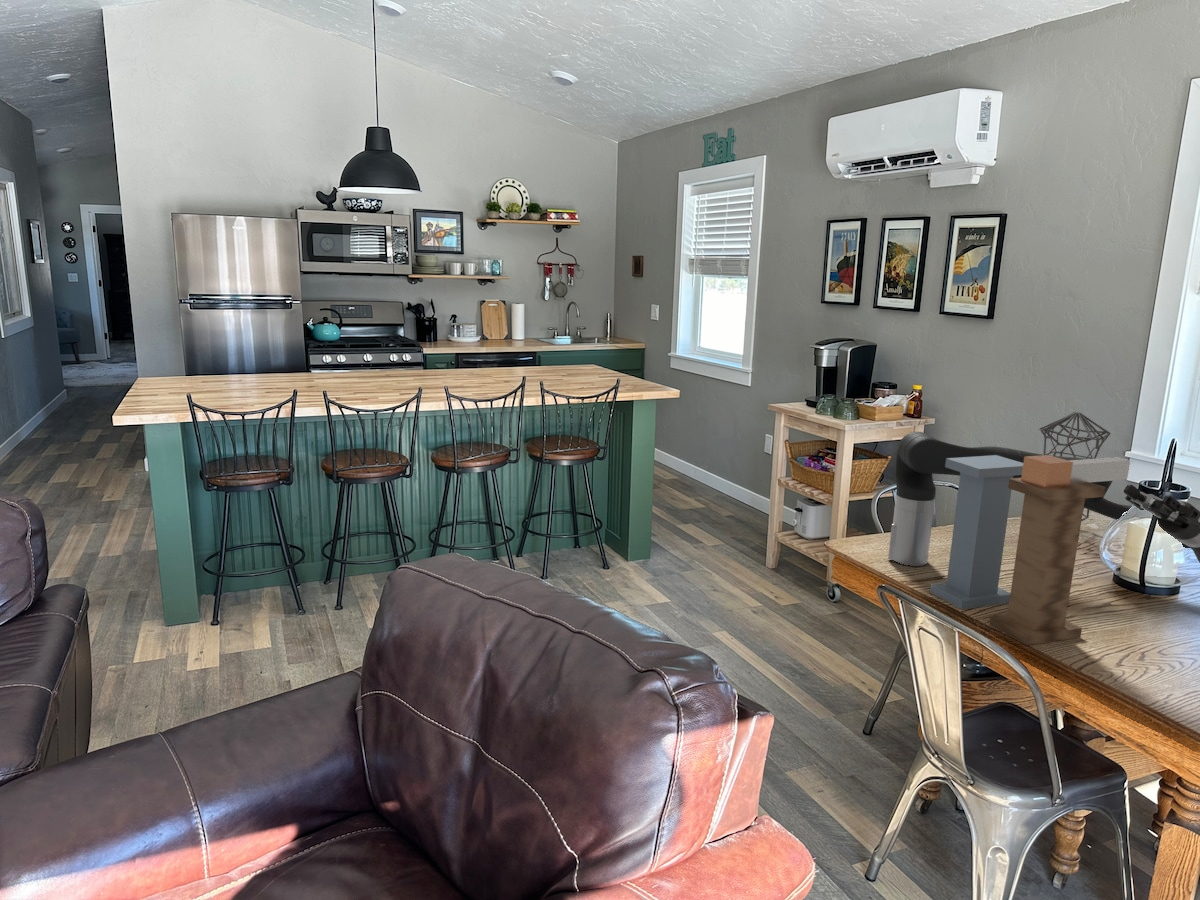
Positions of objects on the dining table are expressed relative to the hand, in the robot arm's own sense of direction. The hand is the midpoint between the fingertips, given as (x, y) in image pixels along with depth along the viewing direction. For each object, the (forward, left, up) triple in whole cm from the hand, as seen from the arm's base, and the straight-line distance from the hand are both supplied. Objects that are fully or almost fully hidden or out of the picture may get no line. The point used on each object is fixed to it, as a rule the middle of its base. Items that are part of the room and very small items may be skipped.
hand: (1145, 493), depth 170 cm
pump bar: (-14, -14, +4) cm, 20 cm away
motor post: (-30, -5, -28) cm, 42 cm away
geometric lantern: (-10, +64, -28) cm, 70 cm away
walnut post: (-18, -18, -28) cm, 38 cm away
